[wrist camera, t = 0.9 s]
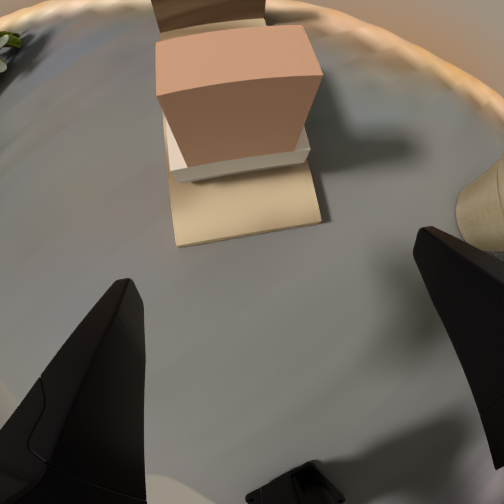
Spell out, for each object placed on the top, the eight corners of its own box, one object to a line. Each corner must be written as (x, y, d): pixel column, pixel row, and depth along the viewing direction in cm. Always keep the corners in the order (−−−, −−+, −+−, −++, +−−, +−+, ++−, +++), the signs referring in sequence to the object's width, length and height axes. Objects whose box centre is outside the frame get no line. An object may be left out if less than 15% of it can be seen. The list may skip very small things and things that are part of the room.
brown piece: (298, 174, 21) (347, 75, 10) (183, 192, 20) (129, 102, 9) (269, 66, 22) (284, -42, 11) (172, 80, 21) (140, -25, 10)
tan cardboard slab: (318, 224, 22) (348, 199, 15) (179, 247, 21) (153, 231, 15) (259, 13, 24) (262, -34, 17) (162, 27, 23) (149, -19, 17)
